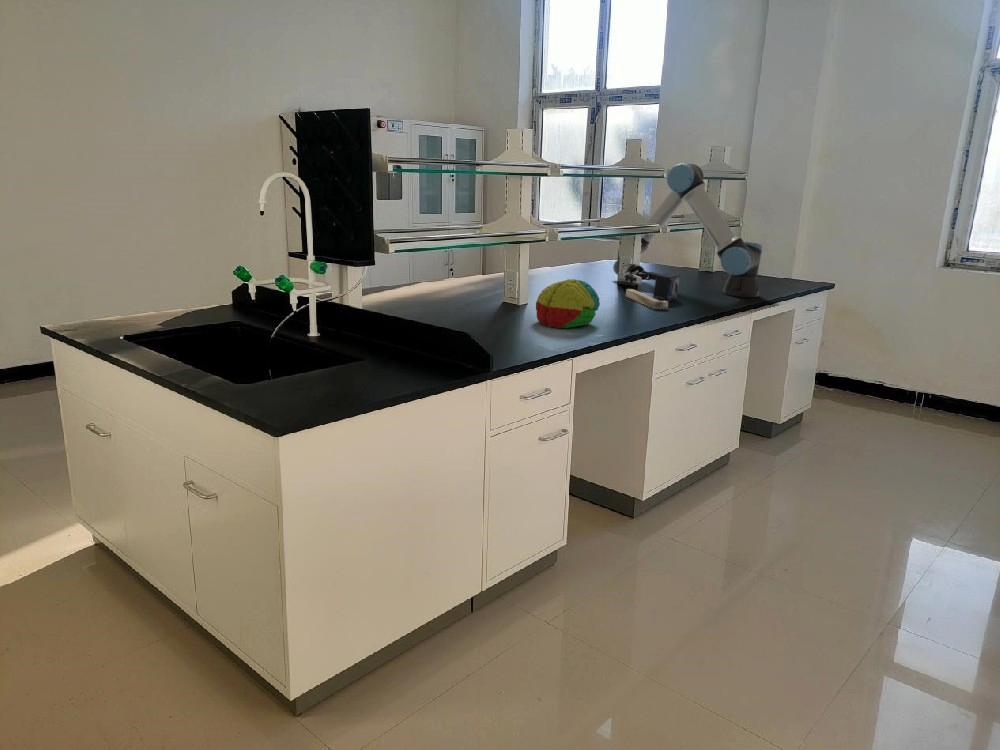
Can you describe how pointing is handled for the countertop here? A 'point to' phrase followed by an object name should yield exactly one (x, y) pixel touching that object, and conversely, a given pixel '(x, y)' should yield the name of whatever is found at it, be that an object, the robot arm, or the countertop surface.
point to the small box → (666, 287)
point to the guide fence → (646, 299)
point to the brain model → (567, 304)
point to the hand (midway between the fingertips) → (655, 281)
